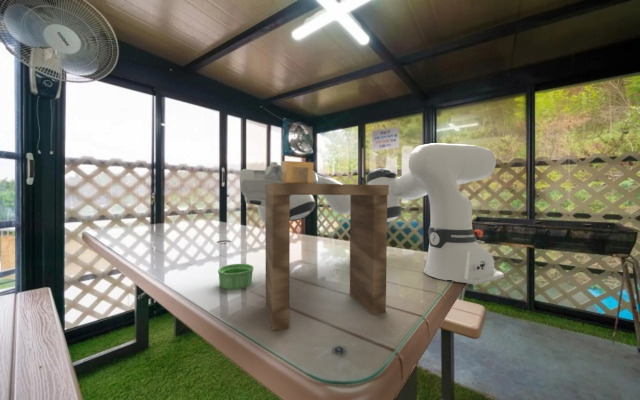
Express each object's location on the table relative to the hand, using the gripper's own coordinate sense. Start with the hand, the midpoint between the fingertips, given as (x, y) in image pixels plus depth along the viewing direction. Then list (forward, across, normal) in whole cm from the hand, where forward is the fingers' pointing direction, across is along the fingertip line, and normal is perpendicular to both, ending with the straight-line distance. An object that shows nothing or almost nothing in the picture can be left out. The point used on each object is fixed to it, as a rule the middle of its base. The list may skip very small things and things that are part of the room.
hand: (283, 164), depth 62 cm
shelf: (-6, -6, -33) cm, 34 cm away
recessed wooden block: (+3, 0, -6) cm, 7 cm away
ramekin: (-24, +11, -22) cm, 35 cm away
